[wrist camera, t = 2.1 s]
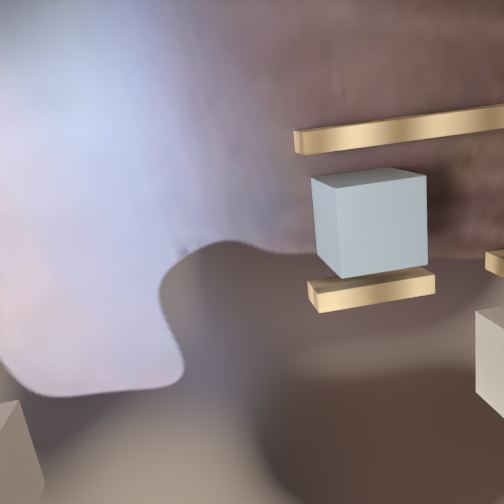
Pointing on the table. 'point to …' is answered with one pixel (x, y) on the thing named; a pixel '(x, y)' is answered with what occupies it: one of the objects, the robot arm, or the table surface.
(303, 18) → the table surface
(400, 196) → the block
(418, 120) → the channel
